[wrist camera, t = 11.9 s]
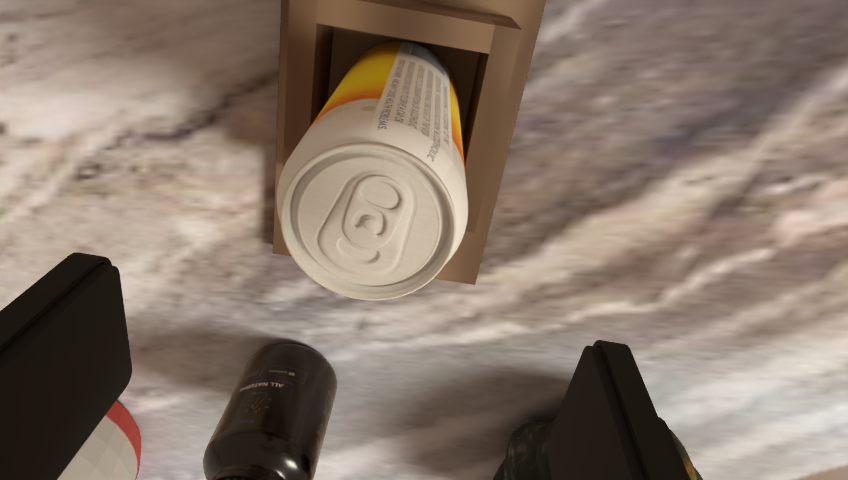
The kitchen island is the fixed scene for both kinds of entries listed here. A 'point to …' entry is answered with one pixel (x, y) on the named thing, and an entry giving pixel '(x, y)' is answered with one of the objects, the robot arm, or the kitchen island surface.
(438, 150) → the beer can
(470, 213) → the can caddy
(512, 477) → the squash
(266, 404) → the supplement bottle
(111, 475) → the citrus juicer
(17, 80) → the kitchen island surface
